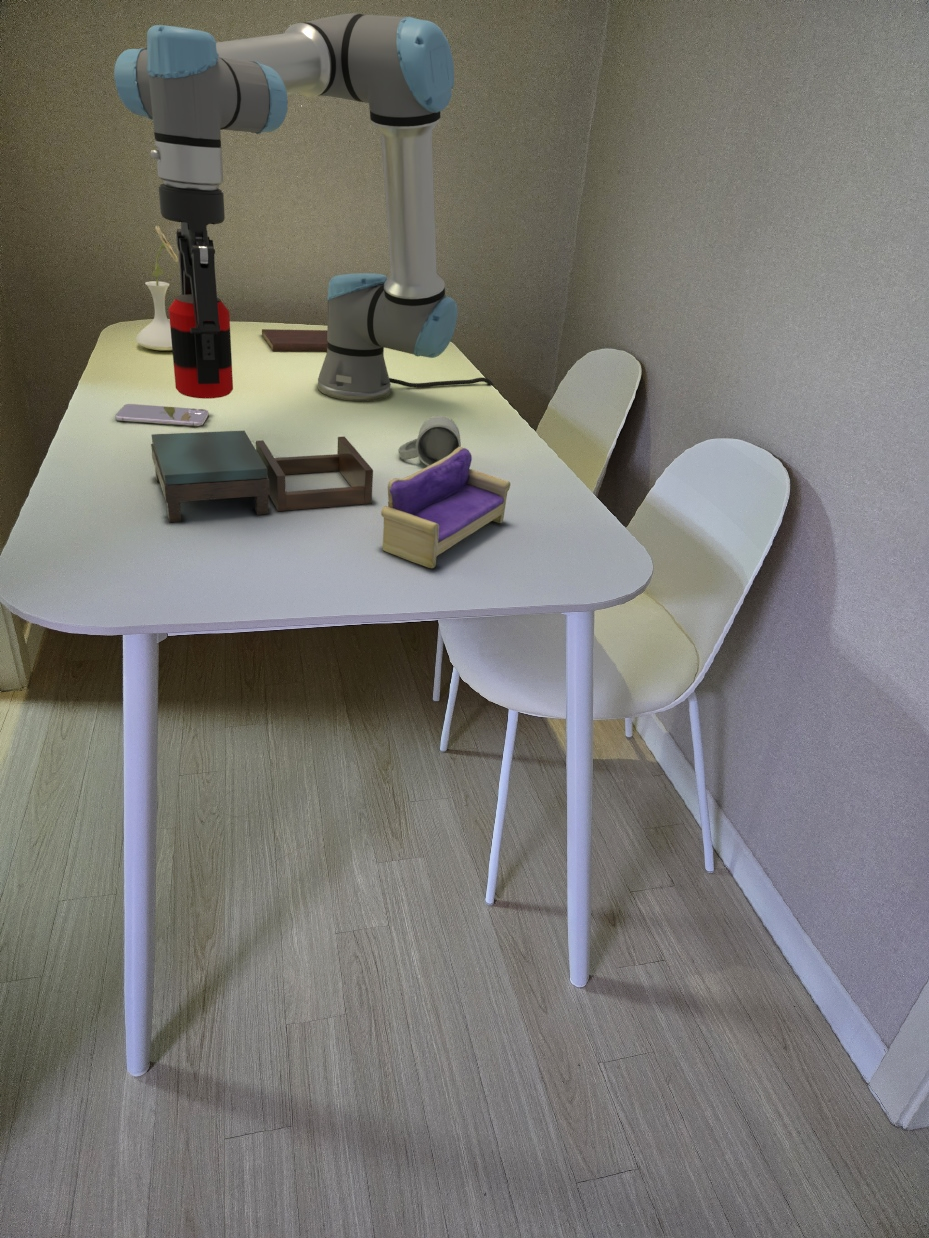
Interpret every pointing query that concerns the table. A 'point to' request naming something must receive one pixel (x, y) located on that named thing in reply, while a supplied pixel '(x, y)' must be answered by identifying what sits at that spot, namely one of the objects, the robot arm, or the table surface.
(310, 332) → the notebook
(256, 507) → the footstool
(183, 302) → the soda can
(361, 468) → the can rack
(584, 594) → the table surface
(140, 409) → the mobile phone
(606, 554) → the table surface
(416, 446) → the ceramic mug
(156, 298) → the flower in vase
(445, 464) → the toy sofa
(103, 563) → the table surface
